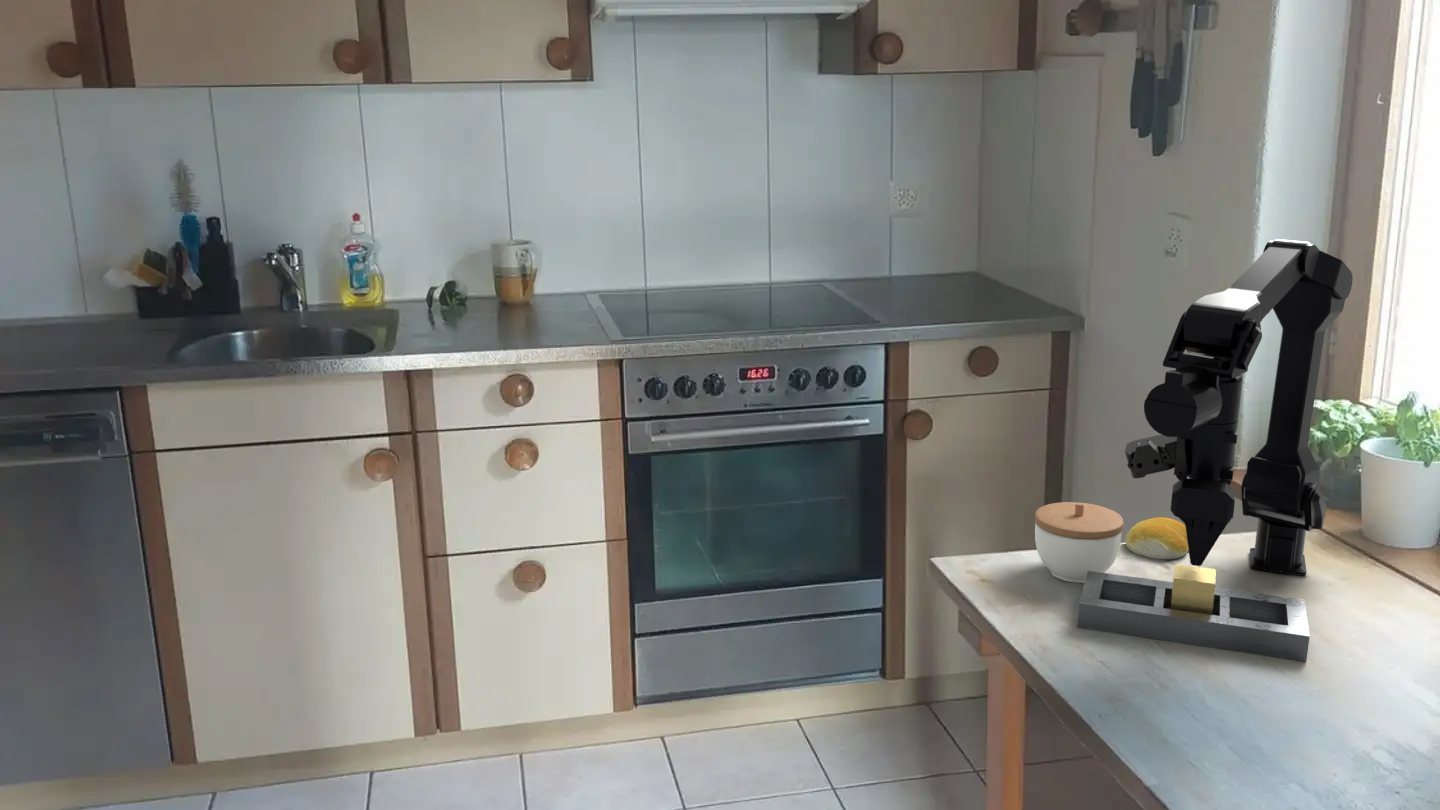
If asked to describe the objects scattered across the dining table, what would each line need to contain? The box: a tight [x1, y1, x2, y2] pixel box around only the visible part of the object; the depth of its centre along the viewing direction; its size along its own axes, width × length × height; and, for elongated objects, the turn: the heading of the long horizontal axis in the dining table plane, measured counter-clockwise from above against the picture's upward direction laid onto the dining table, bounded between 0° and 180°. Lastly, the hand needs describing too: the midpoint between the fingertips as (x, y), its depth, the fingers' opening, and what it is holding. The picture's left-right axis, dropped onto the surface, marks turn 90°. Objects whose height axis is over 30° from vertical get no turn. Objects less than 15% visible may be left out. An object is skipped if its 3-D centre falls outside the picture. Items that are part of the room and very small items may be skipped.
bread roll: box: [1124, 516, 1189, 561], centre depth 165 cm, size 8×9×4 cm
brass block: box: [1171, 563, 1217, 615], centre depth 142 cm, size 4×4×6 cm
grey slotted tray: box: [1076, 571, 1310, 662], centre depth 142 cm, size 10×24×3 cm, turn 68°
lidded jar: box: [1034, 501, 1124, 584], centre depth 156 cm, size 11×11×9 cm
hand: (1196, 550), depth 140 cm, fingers open, 9 cm apart
